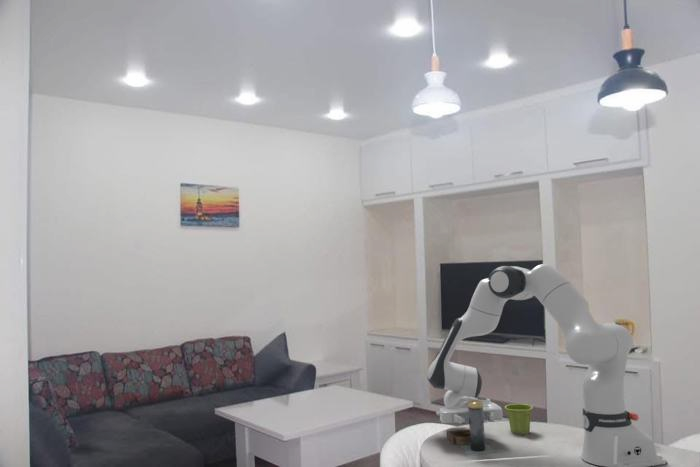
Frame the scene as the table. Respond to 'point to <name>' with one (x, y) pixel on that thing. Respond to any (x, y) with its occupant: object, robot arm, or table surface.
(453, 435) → the tray
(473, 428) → the pepper mill
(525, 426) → the plant pot
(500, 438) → the table surface
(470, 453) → the mat
